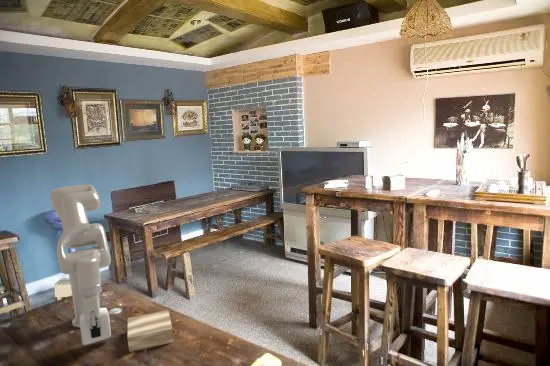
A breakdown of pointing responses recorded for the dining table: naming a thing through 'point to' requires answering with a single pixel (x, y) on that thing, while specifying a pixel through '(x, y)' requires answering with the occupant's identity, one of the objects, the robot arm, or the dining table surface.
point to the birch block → (149, 330)
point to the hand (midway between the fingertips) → (96, 332)
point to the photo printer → (103, 324)
